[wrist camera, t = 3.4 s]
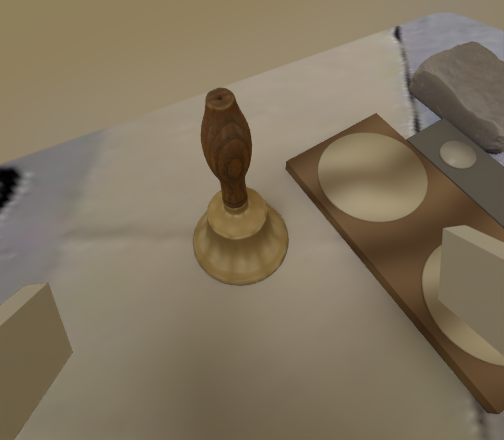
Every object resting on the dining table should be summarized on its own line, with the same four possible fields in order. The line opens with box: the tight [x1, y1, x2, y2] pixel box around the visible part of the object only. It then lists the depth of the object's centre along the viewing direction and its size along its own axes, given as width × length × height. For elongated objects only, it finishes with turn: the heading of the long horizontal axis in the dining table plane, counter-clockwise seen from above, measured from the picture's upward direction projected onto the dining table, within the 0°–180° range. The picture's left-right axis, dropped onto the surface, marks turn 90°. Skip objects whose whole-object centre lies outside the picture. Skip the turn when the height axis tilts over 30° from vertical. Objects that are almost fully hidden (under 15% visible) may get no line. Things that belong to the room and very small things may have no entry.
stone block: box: [409, 41, 504, 154], centre depth 33 cm, size 12×5×10 cm
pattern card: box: [406, 118, 504, 228], centre depth 29 cm, size 16×5×1 cm, turn 32°
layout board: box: [286, 113, 504, 414], centre depth 27 cm, size 24×11×2 cm, turn 32°
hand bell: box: [193, 88, 288, 285], centre depth 21 cm, size 8×8×16 cm
